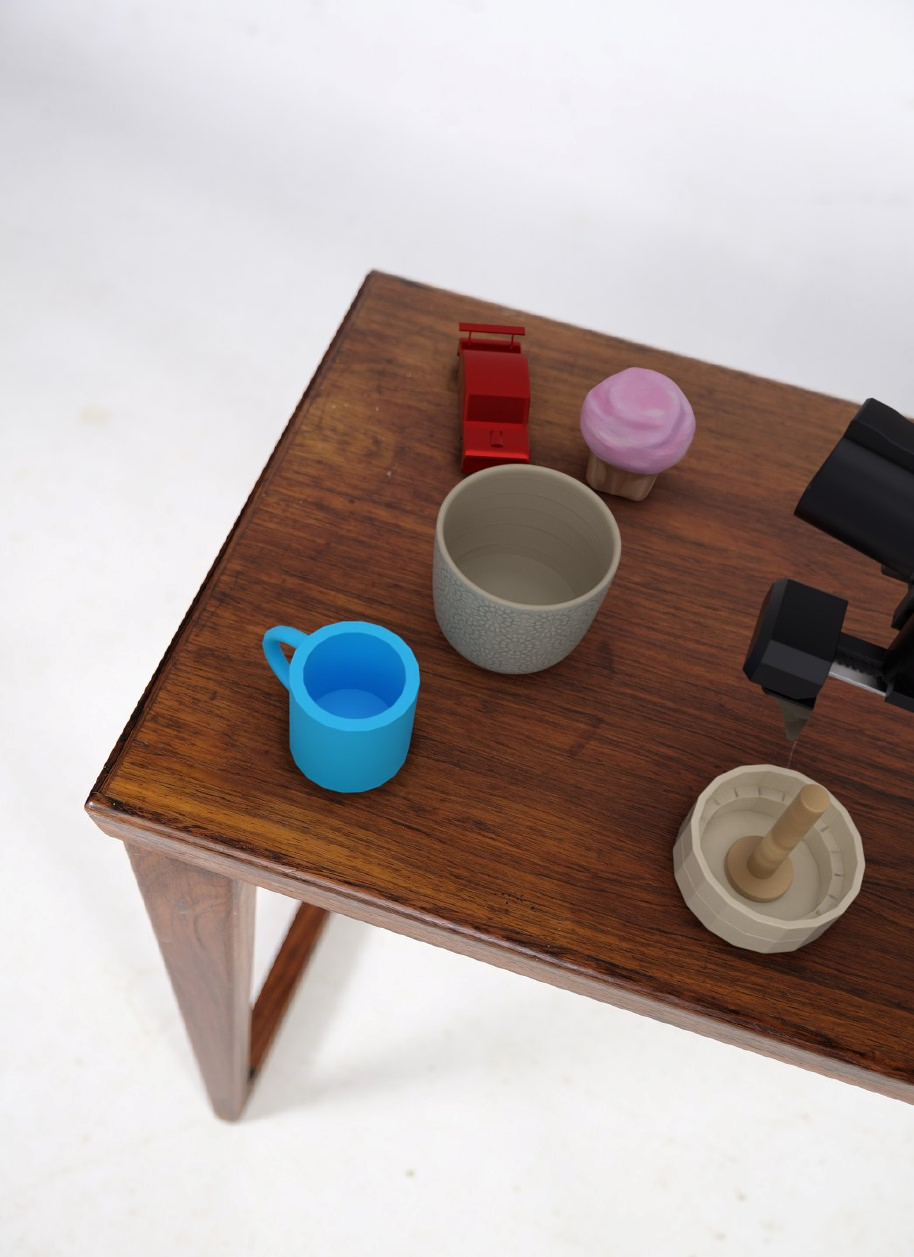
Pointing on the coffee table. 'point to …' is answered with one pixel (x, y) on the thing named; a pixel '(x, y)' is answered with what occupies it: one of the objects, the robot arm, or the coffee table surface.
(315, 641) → the mug
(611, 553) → the planter
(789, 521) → the coffee table surface
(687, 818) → the bowl
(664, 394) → the cupcake
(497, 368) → the toy car
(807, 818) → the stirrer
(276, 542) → the coffee table surface
